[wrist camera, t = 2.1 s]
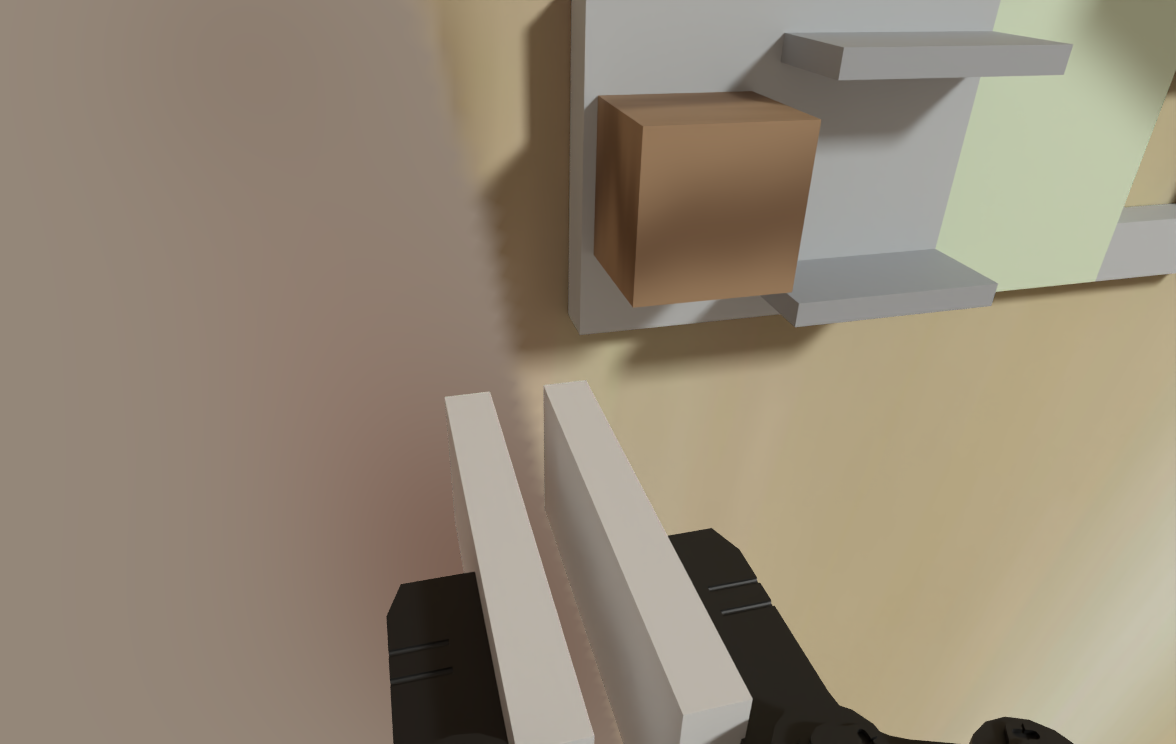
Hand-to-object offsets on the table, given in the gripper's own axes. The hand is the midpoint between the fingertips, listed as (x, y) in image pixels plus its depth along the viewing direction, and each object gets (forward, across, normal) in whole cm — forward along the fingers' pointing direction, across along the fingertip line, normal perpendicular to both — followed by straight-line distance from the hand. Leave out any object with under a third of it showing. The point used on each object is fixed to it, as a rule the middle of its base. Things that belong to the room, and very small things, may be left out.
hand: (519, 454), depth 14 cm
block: (+16, +9, 0) cm, 19 cm away
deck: (+18, +23, 0) cm, 29 cm away
